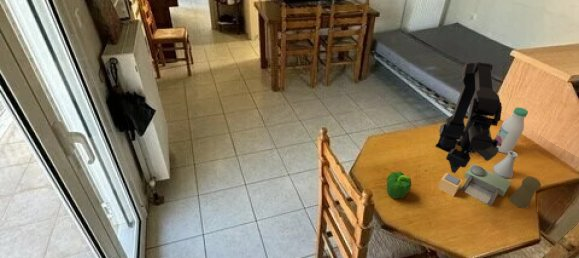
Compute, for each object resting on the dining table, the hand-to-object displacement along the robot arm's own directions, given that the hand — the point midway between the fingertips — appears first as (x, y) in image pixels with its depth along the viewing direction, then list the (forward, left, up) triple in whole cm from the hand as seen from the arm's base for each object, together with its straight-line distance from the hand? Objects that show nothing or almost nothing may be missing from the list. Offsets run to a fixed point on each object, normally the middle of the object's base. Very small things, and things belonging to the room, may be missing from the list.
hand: (458, 165), depth 111 cm
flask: (+12, +24, -12) cm, 29 cm away
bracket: (+9, +6, -12) cm, 16 cm away
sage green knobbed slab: (+9, +14, -12) cm, 20 cm away
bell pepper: (-13, -16, -12) cm, 24 cm away
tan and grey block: (0, 0, -12) cm, 12 cm away
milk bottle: (+7, +40, -12) cm, 42 cm away
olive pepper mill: (+21, +12, -12) cm, 27 cm away
